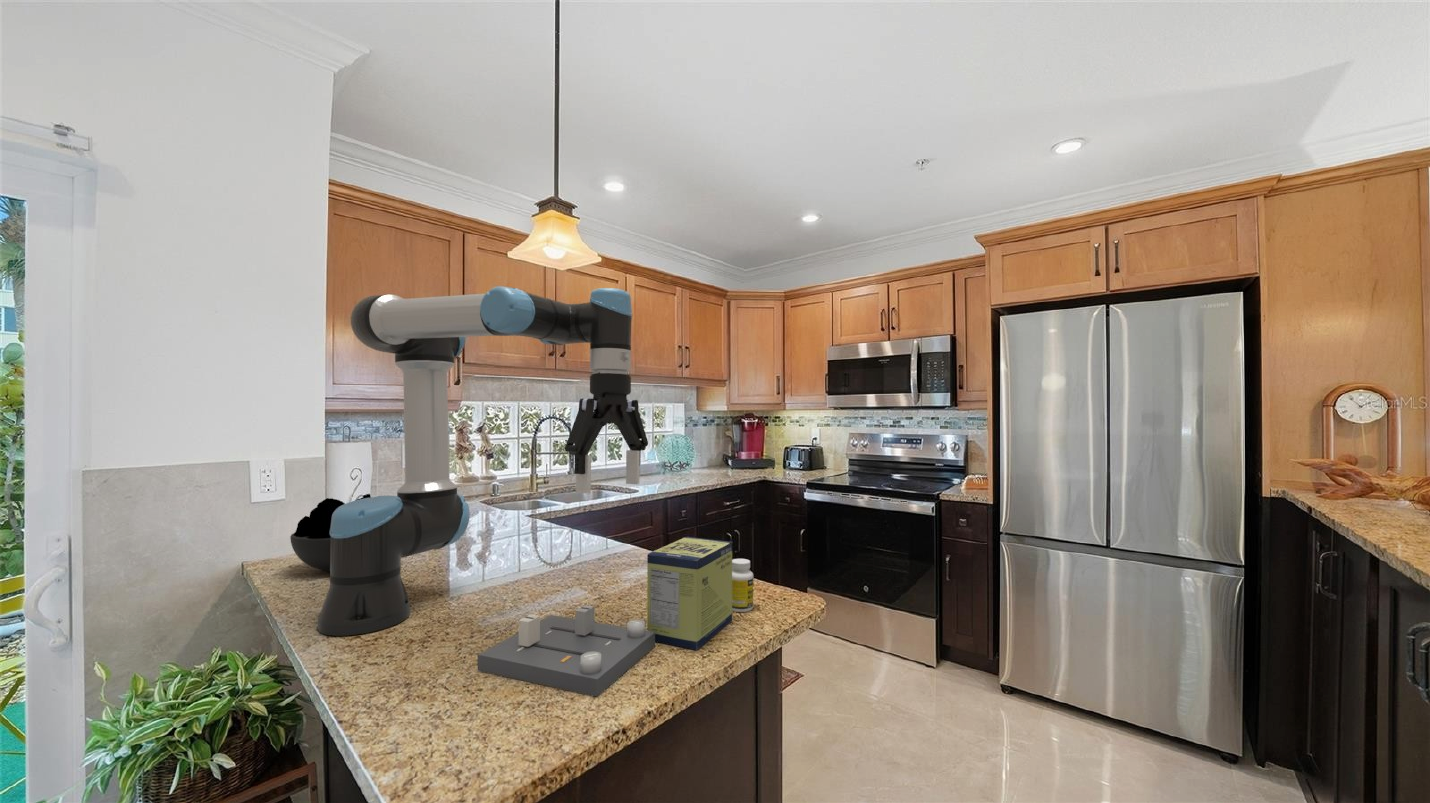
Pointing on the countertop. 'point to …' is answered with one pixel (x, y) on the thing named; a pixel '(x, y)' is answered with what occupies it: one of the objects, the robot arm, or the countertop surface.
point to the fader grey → (584, 620)
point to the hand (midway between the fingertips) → (609, 488)
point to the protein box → (689, 591)
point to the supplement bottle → (742, 586)
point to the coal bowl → (316, 534)
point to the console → (571, 655)
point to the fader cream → (529, 630)
